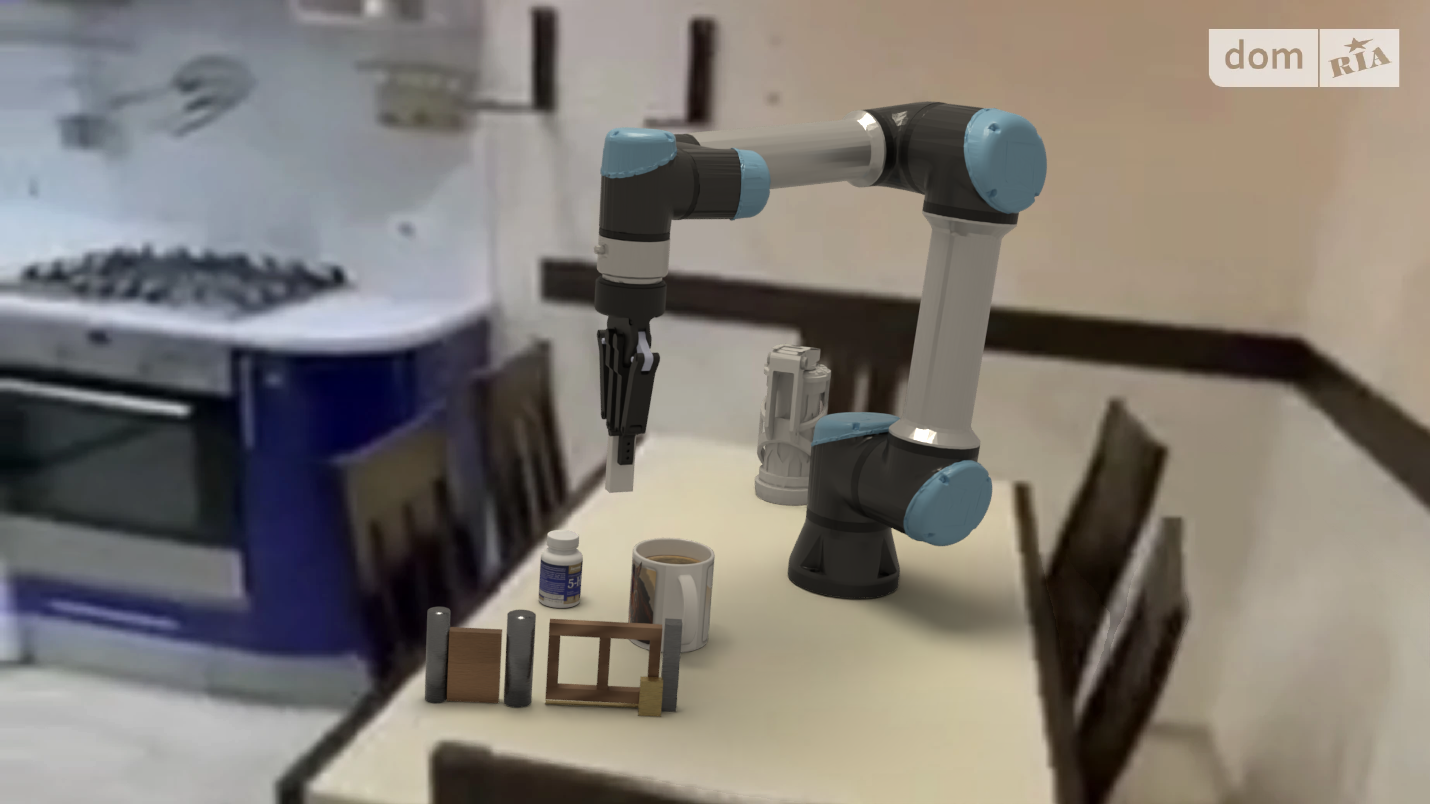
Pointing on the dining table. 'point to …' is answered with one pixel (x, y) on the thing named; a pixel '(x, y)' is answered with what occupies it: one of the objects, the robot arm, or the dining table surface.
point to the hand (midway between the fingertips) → (618, 489)
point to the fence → (484, 662)
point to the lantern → (790, 422)
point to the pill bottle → (561, 570)
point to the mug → (672, 588)
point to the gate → (599, 659)
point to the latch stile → (663, 675)
